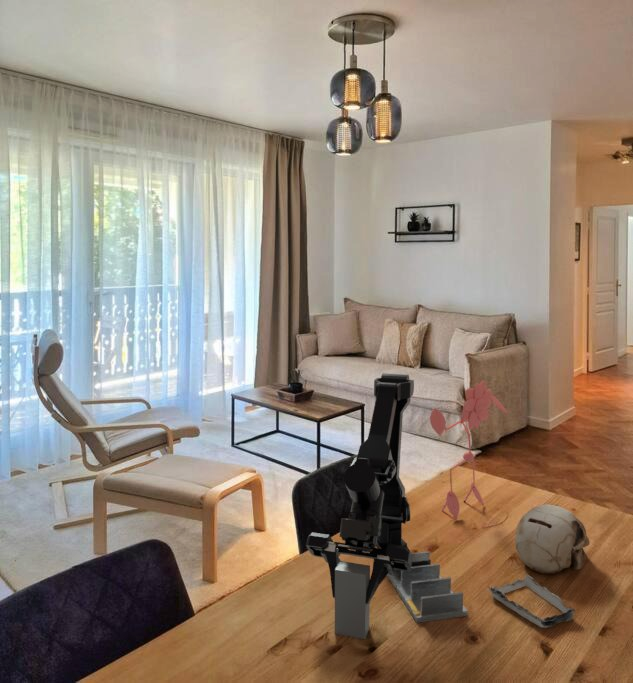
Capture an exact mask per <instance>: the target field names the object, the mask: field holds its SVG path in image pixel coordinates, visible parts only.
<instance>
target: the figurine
mask: <svg viewBox="0 0 633 683" xmlns="http://www.w3.org/2000/svg"><path fill="white" fill-rule="evenodd" d="M464 394H465V395H464V396H465V398H466V401H465V402H464V404H463V406H462V412H461V415H460V419H459V421H457V422H454V423H452V424H451V425H450V426H448V427H446V426H447V425H446V417H445V415H444V414H443V413H442V411H440V410H438V408H437V407H433V410H432V411H431V412H430V415H429V416H430V417H429V423H430V426H431V428H432V429H433V431H434V432H435V433H436V434H437V435H438V436H440V437H441V435H442V434H443V433H444V431H445V432H446V431H448V430H449V429H452V428H453V427H455V426H457V425H459V424H460V423H461V424H462V426H463V428H464V430H465V432H466V434H467V437H468V438H467V439H468V440H467V441H468V451H465V452H464V453H463V455H462V458H463V460H461V462H459V463H458V464H456V465H454V466H453V467H450V469H449V481H450V485H449V486H450V490H449V491H447V493H446V497H445V500H446V501H445V503H444V505H443V506H442V507H441V511H442V512H444V511H445V508H446V507H447V509H448V512H449V513H450V514H451V516H452V517H453V518H454V520H457V519H458V518H459V513H460V503H459V499H458V497H457V495H456V493H455V492H453V483H452V482H453V479H452V478H453V477H452V470H454V469H455V468H457V467H458V466H460V465H462V464H463V463H465V462H467V463H471V462H472V475H473V476H472V477H473V478H472V480H473V483H472V482H470V489H469V491H468V493H466V496H465V497H464V500H463V501H465V502H466V501H467V500H468V498H469V497H470V495H471V493H472V492H473V495H474V496H475V498H476V500H477V501H478V502H479V503H480V505H482V506H485V503H484V501H483V498H482V496H481V494H480V491H479V490H478V488H477V487H476V485H475V455H474V453H473V452H472V450H471V449H472V447H471V444H472V443H471V434H470V432H469V431H472V430H473V429H474V428H476V429H478V428H479V427H480V425H481V421H483V422H484V421H487V420H488V419H489V417H490V413H489V410H488V409H489V407H490V406H491V404H492V402H493V404H494V405H495V406H496V407H497V408H498V409H499V410H501V411H502V413H505V414H508V413H509V412H508V411H507V409H506V407H504V405H503V404H502V402H501V401H500V400H499V399H498V398H497V397H496V396H495V395H493V390H492V389H491V388H489V389H487V384H486V380H482V381H481V382H480V383H479V382H476V383H475V384H474V388H473V387H469V388H467V389H466V390H465V392H464ZM467 422H468V423H467ZM465 423H467V424H468V425H467V426H468V428H467V426H466V424H465ZM468 429H469V430H468ZM504 508H505V510H506V512H508V511H507V510H508V509H506V507H504ZM424 515H425V516H427V517H429V515H427V514H426V513H424ZM507 518H508V516H506V517H505V519H504V521H506V519H507ZM503 523H504V522H503V521H501V522H499V523H496V524H494V525H489V526H488V528H492V527H495V526H498V525H503ZM483 528H484V529H485V528H487V526H482V529H483Z"/></svg>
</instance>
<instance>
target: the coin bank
mask: <svg viewBox="0 0 633 683" xmlns="http://www.w3.org/2000/svg"><path fill="white" fill-rule="evenodd" d="M514 538H515V539H514V542H515V549H516V552H517V554H518V556H519V558H520V560H521V561H522V563H523V564H525V566H527V567H529V569H530V570H532V571H535V572H538V573H539V574H558V573H559V572H560V571H562V570H564V569H567V568H570V569H573V570H576V571H577V570H581V569H582V568H583V566H584V565H585V563H586V560H587V559H586V557H587V555H586V552H585V550H584V548H585V547H588V546H589V545H590V542H591V541H590V539H589V537H588V536H587V530H586V528H585V526H584V524H583V522H582V520H580V519H579V518H578V517H576V515H575V514H574V513H573V512H571V511H570V510H568V509H566V508H564V507H561V506H559V505H553V504H549V503H547V504H546V503H545V504H541V505H538V506H535V507H532V508H531V509H530V510H528V511H527V512H526V513H524V515H522V517H521V518H520V520H519V521H518V524H517V526H516V529H515V537H514Z"/></svg>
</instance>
